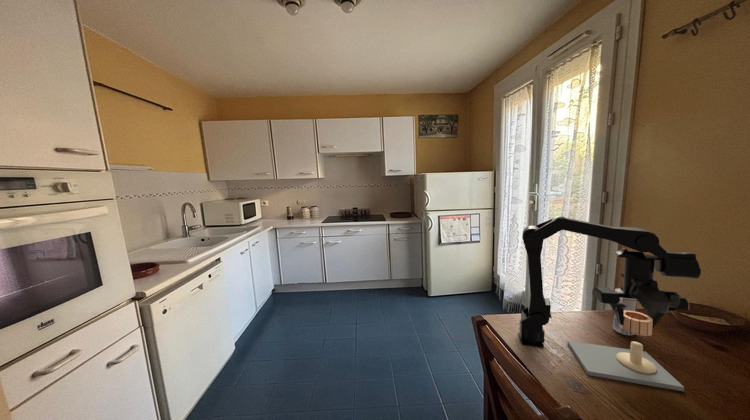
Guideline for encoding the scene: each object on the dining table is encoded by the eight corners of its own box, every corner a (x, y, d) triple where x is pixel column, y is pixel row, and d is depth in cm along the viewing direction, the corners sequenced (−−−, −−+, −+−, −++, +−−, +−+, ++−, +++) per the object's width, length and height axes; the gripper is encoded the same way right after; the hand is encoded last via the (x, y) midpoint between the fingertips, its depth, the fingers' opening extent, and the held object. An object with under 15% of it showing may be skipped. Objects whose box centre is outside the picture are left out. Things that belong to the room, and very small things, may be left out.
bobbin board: (587, 374, 70) (588, 351, 69) (567, 344, 83) (568, 323, 82) (683, 391, 63) (686, 365, 63) (645, 355, 76) (646, 333, 76)
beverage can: (639, 337, 85) (642, 295, 84) (620, 335, 86) (622, 294, 85) (626, 327, 90) (629, 288, 89) (608, 326, 92) (610, 287, 90)
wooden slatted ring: (628, 334, 69) (629, 320, 69) (614, 321, 75) (615, 309, 75) (658, 337, 67) (659, 323, 67) (641, 324, 73) (642, 311, 73)
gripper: (614, 281, 65) (611, 338, 67) (712, 287, 59) (706, 349, 61) (592, 267, 76) (590, 316, 77) (673, 271, 70) (670, 324, 71)
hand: (635, 326), depth 71 cm, fingers closed on wooden slatted ring, 6 cm apart
